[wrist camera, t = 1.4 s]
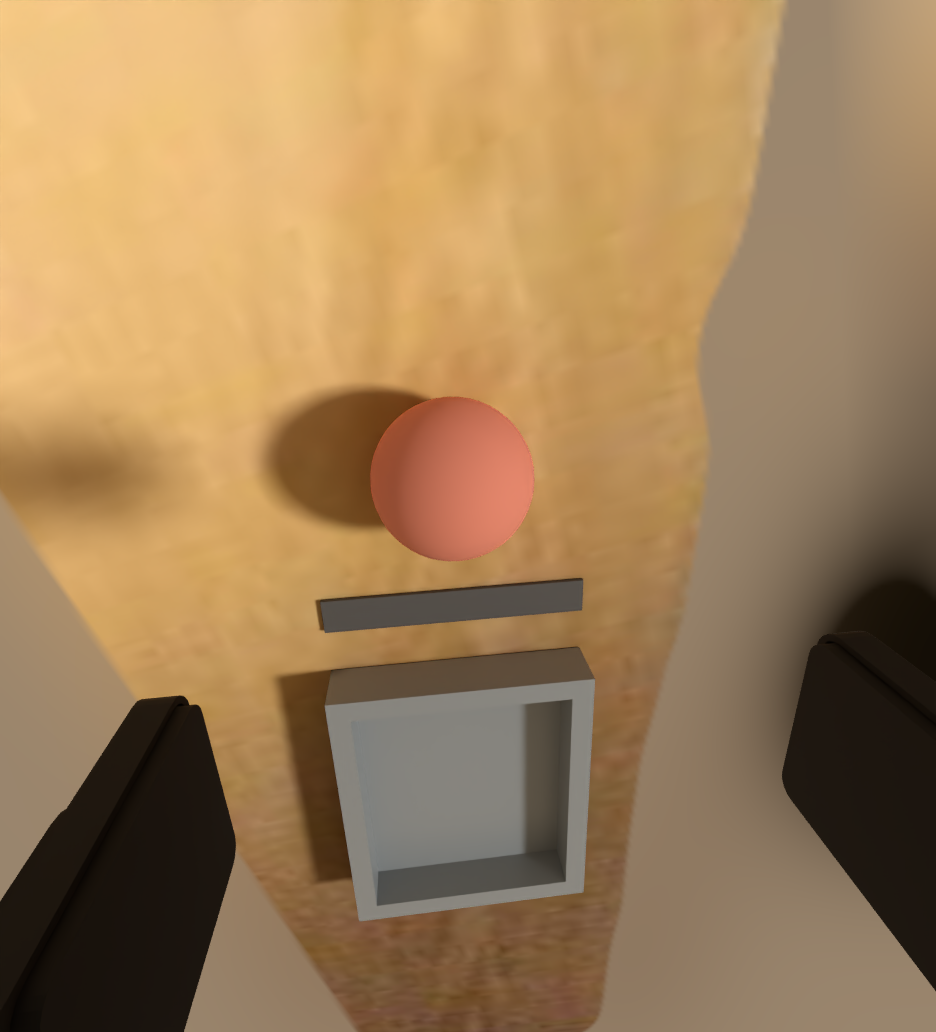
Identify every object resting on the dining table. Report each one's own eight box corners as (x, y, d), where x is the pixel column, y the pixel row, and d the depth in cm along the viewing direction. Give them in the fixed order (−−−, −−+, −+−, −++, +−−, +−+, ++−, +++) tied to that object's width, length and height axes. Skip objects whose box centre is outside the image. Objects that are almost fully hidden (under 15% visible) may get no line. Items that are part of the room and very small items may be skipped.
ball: (367, 389, 22) (354, 420, 17) (517, 381, 23) (553, 409, 17) (381, 529, 25) (374, 598, 19) (518, 519, 25) (550, 583, 20)
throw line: (320, 600, 25) (320, 602, 25) (581, 578, 26) (583, 580, 26) (325, 630, 26) (324, 632, 26) (580, 608, 27) (582, 610, 27)
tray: (331, 670, 27) (324, 705, 25) (579, 647, 28) (594, 678, 26) (362, 876, 32) (359, 921, 30) (570, 850, 33) (583, 892, 31)
